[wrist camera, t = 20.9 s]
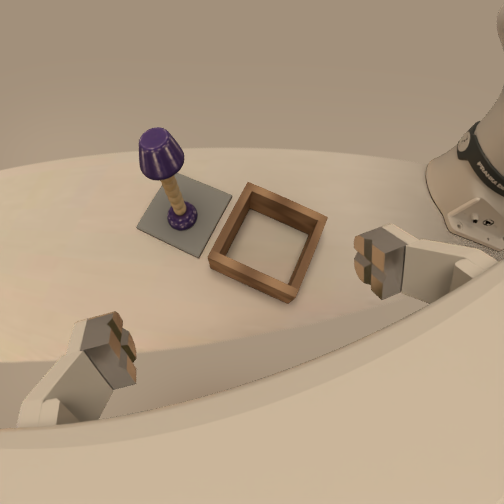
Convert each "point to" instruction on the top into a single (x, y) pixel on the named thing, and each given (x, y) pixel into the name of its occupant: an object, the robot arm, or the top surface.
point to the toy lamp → (166, 173)
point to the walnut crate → (279, 211)
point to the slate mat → (209, 213)
